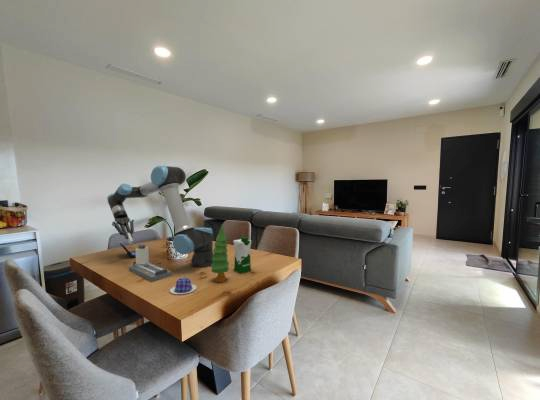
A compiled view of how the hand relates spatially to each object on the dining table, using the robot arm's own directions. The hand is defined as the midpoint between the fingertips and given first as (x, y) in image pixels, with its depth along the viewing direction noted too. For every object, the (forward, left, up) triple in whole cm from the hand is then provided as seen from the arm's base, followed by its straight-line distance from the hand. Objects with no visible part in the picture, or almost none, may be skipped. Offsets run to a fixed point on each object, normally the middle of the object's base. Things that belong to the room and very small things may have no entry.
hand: (131, 242), depth 153 cm
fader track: (-20, +11, -14) cm, 27 cm away
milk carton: (-71, -1, -15) cm, 72 cm away
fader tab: (-12, +6, -12) cm, 18 cm away
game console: (+14, -19, -15) cm, 28 cm away
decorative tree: (-63, +15, -15) cm, 66 cm away
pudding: (-50, +29, -15) cm, 59 cm away
